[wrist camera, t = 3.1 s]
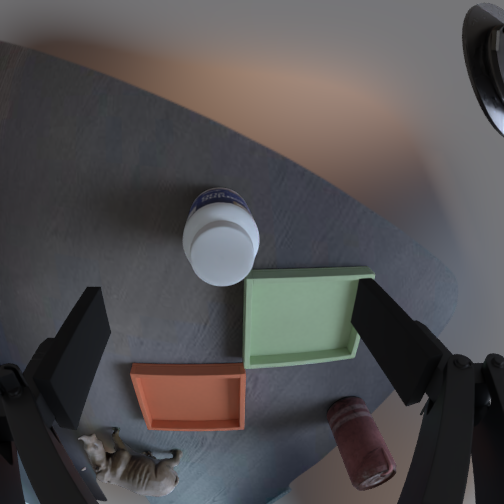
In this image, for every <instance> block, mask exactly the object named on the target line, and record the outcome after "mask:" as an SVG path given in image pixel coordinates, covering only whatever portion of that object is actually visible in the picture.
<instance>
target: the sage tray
mask: <svg viewBox="0 0 504 504" xmlns="http://www.w3.org/2000/svg"><path fill="white" fill-rule="evenodd" d="M361 278H372V279H373V280H374V278H375V273H374V272H373V271H372V270H371V269H370V268H369V267H367V266H359V267H331V268H298V269H260V270H250V272H249V273H248V275H247V276H246V277H245V278H244V306H243V353H242V358H243V365H244V369H249V368H250V369H252V368H268V367H281V366H292V365H302V364H312V363H320V362H328V361H336V360H343V359H350V358H355V354H356V351H357V347H358V344H359V340H360V336H359V334H358V333H357V331H356V330H355V328H354V327H353V325H352V324H351V317H352V312H353V308H354V303H355V298H356V293H357V288H358V282H359V279H361Z"/></svg>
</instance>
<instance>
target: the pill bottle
mask: <svg viewBox="0 0 504 504" xmlns="http://www.w3.org/2000/svg"><path fill="white" fill-rule="evenodd" d="M183 248H184V252H185V255H186V257H187V259H188V260H189V262H190V263H191V266H192V268H193V270H194V272H195V273H196V275H197V276H198V277H199V278H200V279H202V280H203V281H204V282H206V283H208V284H211V285H215V286H229V285H233V284H235V283H238V282H239V281H241V280H242V279H244V278H245V277H246V276H247V275H248V273H249V272H250V270H251V268H252V266H253V263H254V258H255V256H256V254H257V251H258V248H259V232H258V228H257V225H256V223H255V221H254V219H253V216H252V214H251V212H250V210H249V208H248V206H247V204H246V202H245V201H244V199H243V198H242V197H241V196H240V195H239V194H238V193H236V192H235V191H233V190H231V189H228V188H220V187H219V188H212V189H209V190H206V191H204V192H203V193H201V194H200V195H199V196H198V197H197V198H196V199H195V201H194V202H193V204H192V206H191V209H190V212H189V215H188V218H187V221H186V225H185V228H184V232H183Z"/></svg>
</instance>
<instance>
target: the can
mask: <svg viewBox="0 0 504 504" xmlns="http://www.w3.org/2000/svg"><path fill="white" fill-rule="evenodd" d="M327 420H328V423H329V425H330V428H331V430H332V433H333V435H334V438H335V441H336V443H337V446H338V448H339V451H340V454H341V456H342V459H343V462H344V464H345V467H346V469H347V472H348V475H349V477H350V480H351V482H352V485H353V486H354V487H355V488H356V489H357V490H359V491H365V490H369V489H372V488H375V487H377V486H379V485H381V484H383V483H385V482H387V481H388V480H390V479H391V478H392V477H393V476H394V475H395V474H396V463H395V461H394V459H393V457H392V455H391V453H390V451H389V449H388V447H387V445H386V443H385V441H384V439H383V437H382V435H381V433H380V432H379V429H378V427H377V426H376V424H375V422H374V420H373V418H372V416H371V414H370V412H369V410H368V408H367V406H366V404H365V402H364V401H363V400H362V399H361V398H358V397H354V396H353V397H346V398H343V399H341V400H339V401H337V402H336V403H334V404H333V405H332V406H331V407H330V409H329V410H328V413H327Z"/></svg>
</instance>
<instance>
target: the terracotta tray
mask: <svg viewBox="0 0 504 504" xmlns="http://www.w3.org/2000/svg"><path fill="white" fill-rule="evenodd" d="M130 376H131V379H132V383H133V386H134V389H135V392H136V396H137V399H138V402H139V405H140V408H141V411H142V414H143V417H144V420H145V422H146V425H147V428H148V430H167V431H223V430H244V417H245V382H246V373H245V369H244V365H243V363H225V364H146V363H133V365H132V368H131V372H130Z"/></svg>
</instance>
